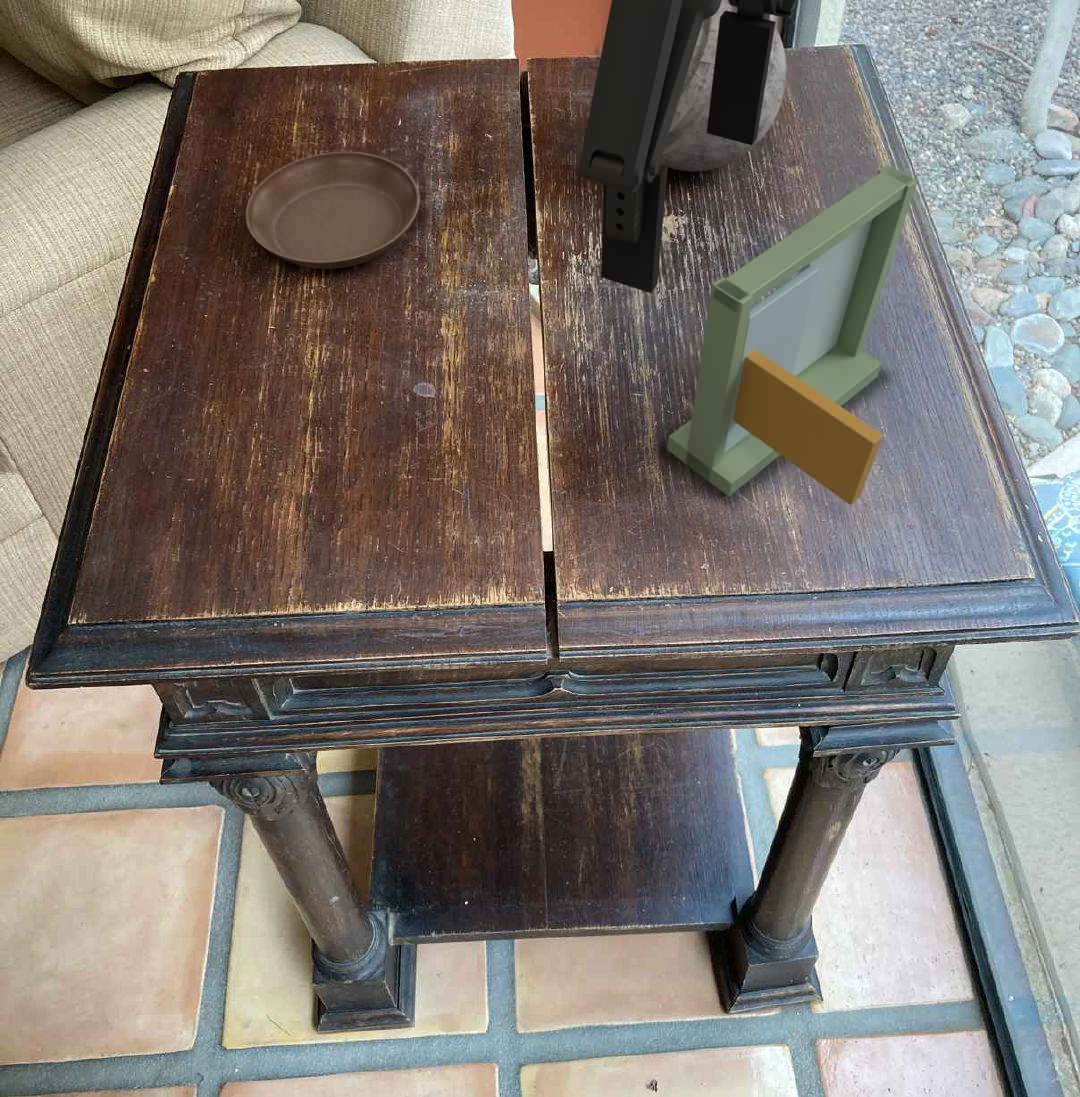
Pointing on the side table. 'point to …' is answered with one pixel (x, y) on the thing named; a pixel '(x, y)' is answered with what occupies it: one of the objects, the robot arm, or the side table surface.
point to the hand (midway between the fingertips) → (683, 204)
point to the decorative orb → (689, 125)
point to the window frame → (830, 329)
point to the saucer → (333, 209)
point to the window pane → (796, 398)
